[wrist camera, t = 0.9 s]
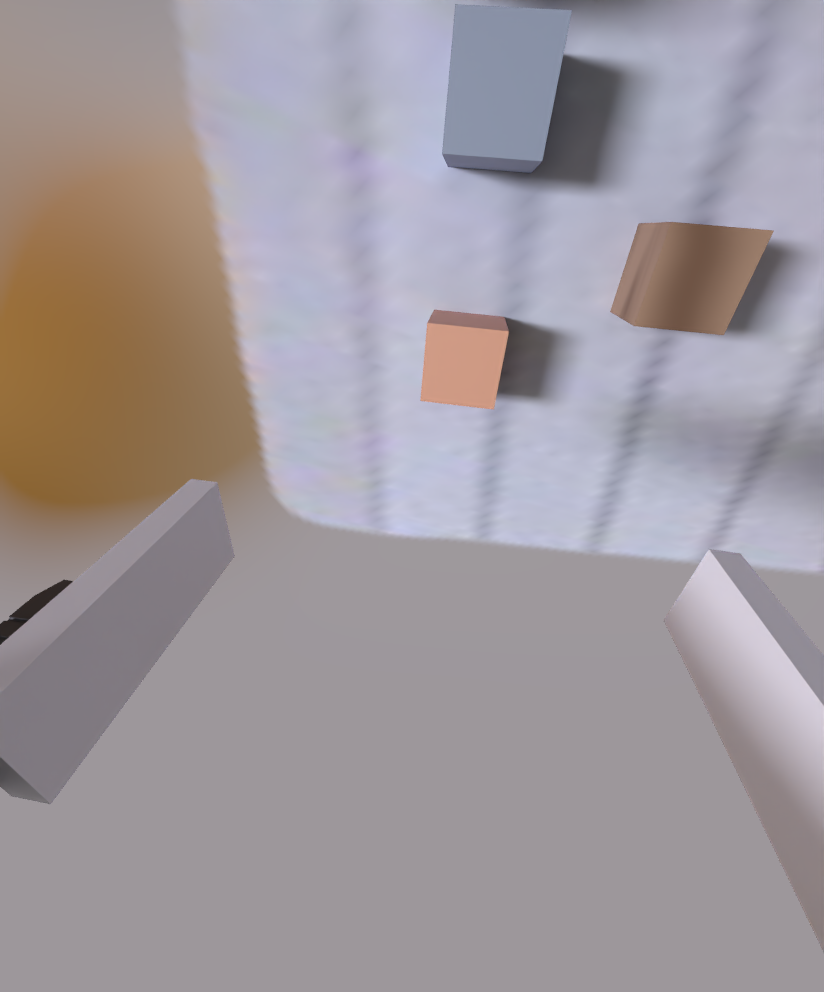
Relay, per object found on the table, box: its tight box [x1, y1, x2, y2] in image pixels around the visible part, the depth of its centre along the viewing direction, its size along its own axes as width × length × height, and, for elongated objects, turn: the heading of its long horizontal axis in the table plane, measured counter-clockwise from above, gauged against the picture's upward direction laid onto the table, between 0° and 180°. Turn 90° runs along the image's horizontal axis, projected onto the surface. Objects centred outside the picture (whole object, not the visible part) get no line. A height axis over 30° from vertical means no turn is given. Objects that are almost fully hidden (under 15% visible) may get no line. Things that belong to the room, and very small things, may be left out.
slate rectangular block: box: [442, 4, 572, 173], centre depth 21 cm, size 5×5×5 cm
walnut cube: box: [610, 222, 773, 335], centre depth 24 cm, size 5×5×5 cm
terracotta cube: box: [421, 310, 509, 409], centre depth 28 cm, size 5×5×5 cm
